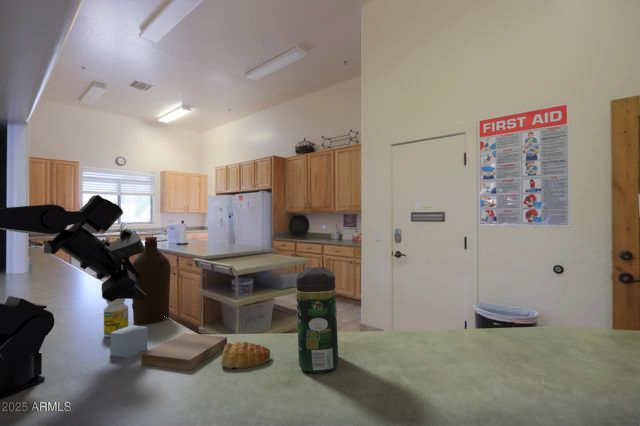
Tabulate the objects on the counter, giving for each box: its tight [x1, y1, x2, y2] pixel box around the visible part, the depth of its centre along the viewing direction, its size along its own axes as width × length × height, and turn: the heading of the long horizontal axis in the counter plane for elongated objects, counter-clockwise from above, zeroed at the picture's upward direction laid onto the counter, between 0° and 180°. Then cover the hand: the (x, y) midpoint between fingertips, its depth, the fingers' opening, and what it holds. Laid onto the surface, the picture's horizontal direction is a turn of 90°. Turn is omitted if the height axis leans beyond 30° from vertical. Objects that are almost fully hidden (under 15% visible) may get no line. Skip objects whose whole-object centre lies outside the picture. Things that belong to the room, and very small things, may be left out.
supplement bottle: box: [103, 299, 129, 338], centre depth 80 cm, size 5×5×10 cm
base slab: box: [140, 332, 228, 372], centre depth 65 cm, size 12×12×2 cm
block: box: [109, 324, 148, 359], centre depth 68 cm, size 5×5×5 cm
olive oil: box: [131, 236, 172, 325], centre depth 92 cm, size 11×11×25 cm
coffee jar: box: [295, 266, 339, 374], centre depth 60 cm, size 10×8×19 cm
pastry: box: [220, 341, 271, 370], centre depth 61 cm, size 9×7×4 cm
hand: (142, 287), depth 75 cm, fingers open, 9 cm apart
